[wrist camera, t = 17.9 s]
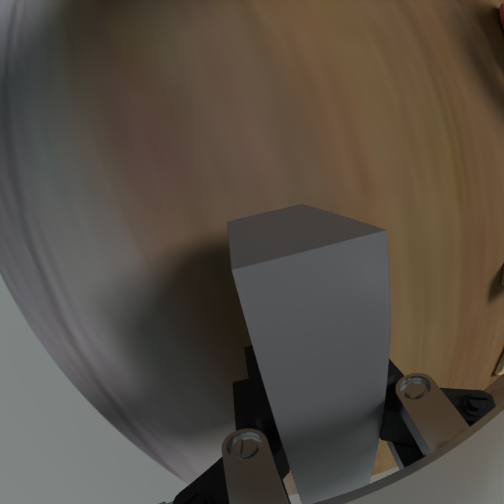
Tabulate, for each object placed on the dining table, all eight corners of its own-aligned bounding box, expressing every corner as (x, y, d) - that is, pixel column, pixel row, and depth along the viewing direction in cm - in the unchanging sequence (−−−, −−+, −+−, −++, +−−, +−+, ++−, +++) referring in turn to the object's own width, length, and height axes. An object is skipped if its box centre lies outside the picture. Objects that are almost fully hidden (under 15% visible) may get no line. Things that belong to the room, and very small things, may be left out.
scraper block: (226, 221, 11) (231, 269, 5) (302, 204, 11) (385, 230, 5) (281, 426, 14) (304, 510, 8) (331, 412, 14) (367, 490, 8)
